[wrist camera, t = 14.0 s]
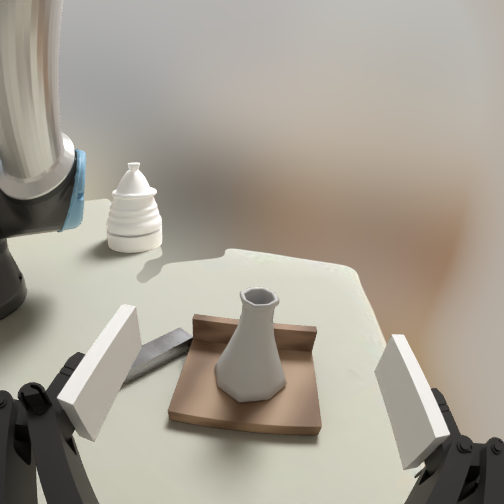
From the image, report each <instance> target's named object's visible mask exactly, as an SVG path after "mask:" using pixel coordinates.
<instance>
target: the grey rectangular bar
mask: <svg viewBox="0 0 504 504" xmlns="http://www.w3.org/2000/svg"><path fill="white" fill-rule="evenodd" d="M192 341H193V337H192V336H191V335H190V334H188V333H187V332H186V331H184V330H183V329H182V328H178V329H176V330H174V331H171V332H169V333H167V334H165V335H163V336H161V337H159V338H157V339H155V340H153V341H151V342H149V343H147V344H144V345H142V348H141V350H140V351H139V353H138V355H137V357H136V359H135V361H134V363H133V365H132V367H131V368H130V370H129V372H128V374H127V376H126V378H125V380H124V382H123V383H124V384H126V383H128V382H130V381H132V380H134V379H136V378H137V377H139V376H141V375H143V374H145V373H147V372H149V371H151V370H153V369H155V368H157V367H158V366H160V365H162V364H164V363H166V362H168V361H170V360H172V359H173V358H175V357H177V356H179V355H181V354H183V353H184V352H186V351H188V350H189V349H190V346H191V344H192Z"/></svg>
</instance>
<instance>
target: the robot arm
mask: <svg viewBox="0 0 504 504" xmlns="http://www.w3.org/2000/svg"><path fill="white" fill-rule="evenodd" d="M62 7H63V0H0V319H1V318H3V317H5V316H7V315H8V314H10V313H11V312H13V311H14V310H15V309H16V308H18V307H19V306H20V304H21V303H22V302H23V301H24V299H25V297H26V294H27V288H26V284H25V280H24V277H23V275H22V273H21V272H20V270H19V268H18V266H17V264H16V262H15V261H14V259H13V257H12V255H11V253H10V251H9V249H8V245H7V239H6V238H11V237H18V236H25V235H32V234H39V233H47V232H54V231H57V232H62V231H63V230H68V229H74V228H76V227H78V226H79V225H80V224H81V222H82V219H83V209H84V187H85V165H86V155H85V152H84V151H82V150H78V149H74V146H73V143H72V141H71V140H70V138H69V137H68V136H66V135H65V134H64V133H62V132H61V122H60V109H59V81H58V80H59V75H58V74H59V72H58V71H59V70H58V69H59V40H60V26H61V16H62ZM141 348H142V344H141V338H140V332H139V325H138V318H137V311H136V306H130V305H125V304H122V306H121V307H120V308H119V310H118V311H117V312H116V314H115V315H114V316H113V318H112V319H111V320H110V322H109V323H108V324H107V326H106V327H105V328H104V330H103V331H102V333H101V334H100V335H99V337H98V338H97V339H96V341H95V342H94V344H93V345H92V346H91V348H90V349H89V351H88V352H87V354H83V353H80V352H77V353H76V354H74V355H73V356H71V357H70V358H69V359H68V360H67V362H66V363H65V365H64V367H62V369H61V370H60V373H58V374H57V376H56V377H55V379H54V380H53V382H52V383H51V384H50V386H49V387H48V389H47V390H46V391H45V389H44V387H43V386H42V385H41V384H38V383H35V382H33V383H28V384H25V385H24V386H22V387H21V388H20V390H19V392H18V399H19V400H15V399H13V397H12V396H11V394H10V393H9V392H7V391H4V390H1V391H0V504H38V500H37V484H36V467H37V471H38V475H39V478H40V482H41V485H42V489H43V492H44V495H45V498H46V501H47V504H99V503H98V500H97V498H96V496H95V494H94V491H93V489H92V487H91V484H90V482H89V479H88V477H87V474H86V472H85V469H84V467H83V464H82V461H81V458H80V455H79V452H78V450H77V446H76V443H75V440H74V438H73V436H72V434H73V432H74V430H76V431H77V433H78V434H79V436H81V437H83V438H86V439H88V440H91V441H93V442H94V441H95V439H96V437H97V435H98V433H99V431H100V428H101V426H102V424H103V422H104V420H105V418H106V416H107V414H108V412H109V410H110V408H111V406H112V404H113V402H114V400H115V398H116V396H117V394H118V392H119V390H120V388H121V386H122V384H123V382H124V380H125V378H126V376H127V374H128V372H129V370H130V368H131V367H132V365H133V363H134V361H135V359H136V357H137V355H138V353H139V351H140V350H141ZM374 372H375V375H376V378H377V381H378V384H379V387H380V390H381V393H382V396H383V399H384V402H385V406H386V409H387V412H388V416H389V419H390V422H391V426H392V429H393V433H394V436H395V440H396V443H397V447H398V451H399V454H400V458H401V462H402V466H403V470H406V469H411V468H416V467H418V466H419V465H420V464H421V463H422V462H423V461H424V462H425V465H426V466H425V467H424V468H423V469H422V470H421V471H420V472H418V473H417V474H416V475H415V478H417V477H418V476H419V475H420V476H419V478H418V480H417V482H416V484H415V485H414V487H413V489H412V491H411V493H410V495H409V496H408V498H407V500H406V502H405V503H404V504H504V442H503V441H502V440H501V439H499V438H496V437H493V438H491V439H489V440H488V441H487V443H485V444H478V443H473V442H472V440H471V439H470V438H468V437H467V436H464V435H461V434H460V432H459V430H458V427H457V425H456V423H455V421H454V418H453V416H452V414H451V411H449V407H448V405H446V404H447V403H446V401H445V398H444V396H443V395H442V394H441V393H440V392H439V390H438V389H436V388H432V389H430V387H429V384H428V382H427V380H426V378H425V376H424V374H423V372H422V370H421V368H420V366H419V364H418V362H417V360H416V358H415V356H414V354H413V352H412V350H411V348H410V346H409V344H408V342H407V340H406V338H405V336H404V335H394V334H392V335H391V337H390V339H389V341H388V344H387V346H386V348H385V350H384V353H383V355H382V357H381V359H380V361H379V363H378V365H377V367H376V369H375V371H374Z"/></svg>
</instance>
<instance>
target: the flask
mask: <svg viewBox="0 0 504 504" xmlns="http://www.w3.org/2000/svg"><path fill="white" fill-rule="evenodd" d="M240 297H241V300H242V304H243V305H242V313H241V316H240V320H239V323H238V326H237V329H236V330H235V332H234V334H233V336H232V338H231V339H230V341H229V343H228V345H227V347H226V348H225V350H224V352H223V353H222V355H221V356H220V358H219V360H218V361H217V363H216V365H215V366H214V367H215V373H216V379H217V385H218V387H219V388H221V389H222V390H223V391H225V392H226V393H227V394H228V395H230V396H231V397H232V398H234V399H235V400H236V401H238V402H249V401H259V400H268V399H270V398H271V397H272V396H273V395H275V394H276V393H277V392H278V391H279V390H280V389H282V388H283V387H284V386H285V385H286V384H287V383H286V379H285V376H284V372H283V369H282V365H281V362H280V359H279V355H278V350H277V346H276V342H275V338H274V328H273V315H274V308H275V306H277V305H278V304H279V298H278V297H277V295H276V293H275V292H273V291H271V290H269V289H267V288H265V287H250V288H248V289H245V290H243V291H241V292H240Z"/></svg>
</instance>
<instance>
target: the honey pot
mask: <svg viewBox="0 0 504 504" xmlns="http://www.w3.org/2000/svg"><path fill="white" fill-rule="evenodd" d="M139 166H140V163H128V167H129V170H128V171H127V172H126V173H125V174H124V176H123V177H122V179H121V181H120V183H119V185H118V187H117V190H114V191H113V192H112V196H113V197H114V199H113V202H112V205H111V206H110V212H109V218H108V220H107V222H106V225H107V240H108V246H109V248H111V249H112V250H114V251H118V252H123V253H138V252H145V251H149V250H152V249H154V248H157V247H158V246H160V245H161V243H162V219H161V216H160V215H159V210H158V209H157V203H156V202H155V199H154V197H153V196H154V195H155V194H156V193H157V192H156V190H155V189H154V188H151V187H150V186H149V184H148V182H147V180H146V178H145V177H144V175H143V174H142V173H141V172H140V171H139V170H138V169H139Z"/></svg>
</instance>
